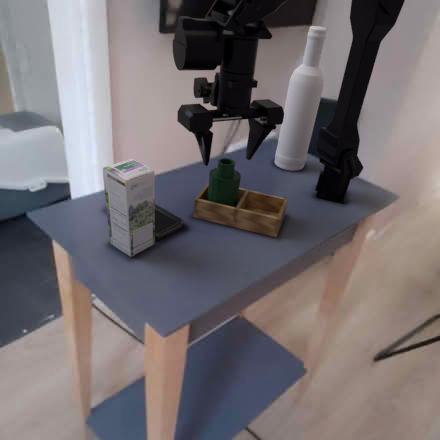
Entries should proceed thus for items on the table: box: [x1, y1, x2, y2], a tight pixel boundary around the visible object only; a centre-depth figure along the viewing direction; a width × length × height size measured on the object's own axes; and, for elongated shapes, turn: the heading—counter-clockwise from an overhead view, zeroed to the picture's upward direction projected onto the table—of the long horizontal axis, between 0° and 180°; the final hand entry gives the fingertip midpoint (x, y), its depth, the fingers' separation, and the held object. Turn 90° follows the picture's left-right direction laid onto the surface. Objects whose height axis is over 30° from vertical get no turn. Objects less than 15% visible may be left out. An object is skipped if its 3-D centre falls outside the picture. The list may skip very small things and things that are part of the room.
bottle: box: [274, 25, 328, 172], centre depth 92 cm, size 8×8×30 cm
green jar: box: [207, 157, 242, 207], centre depth 77 cm, size 6×6×10 cm
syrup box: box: [102, 158, 156, 258], centre depth 65 cm, size 6×6×14 cm
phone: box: [155, 203, 184, 241], centre depth 76 cm, size 8×1×15 cm
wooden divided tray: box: [193, 180, 289, 238], centre depth 79 cm, size 17×9×4 cm, turn 73°
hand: (227, 162), depth 74 cm, fingers open, 9 cm apart
